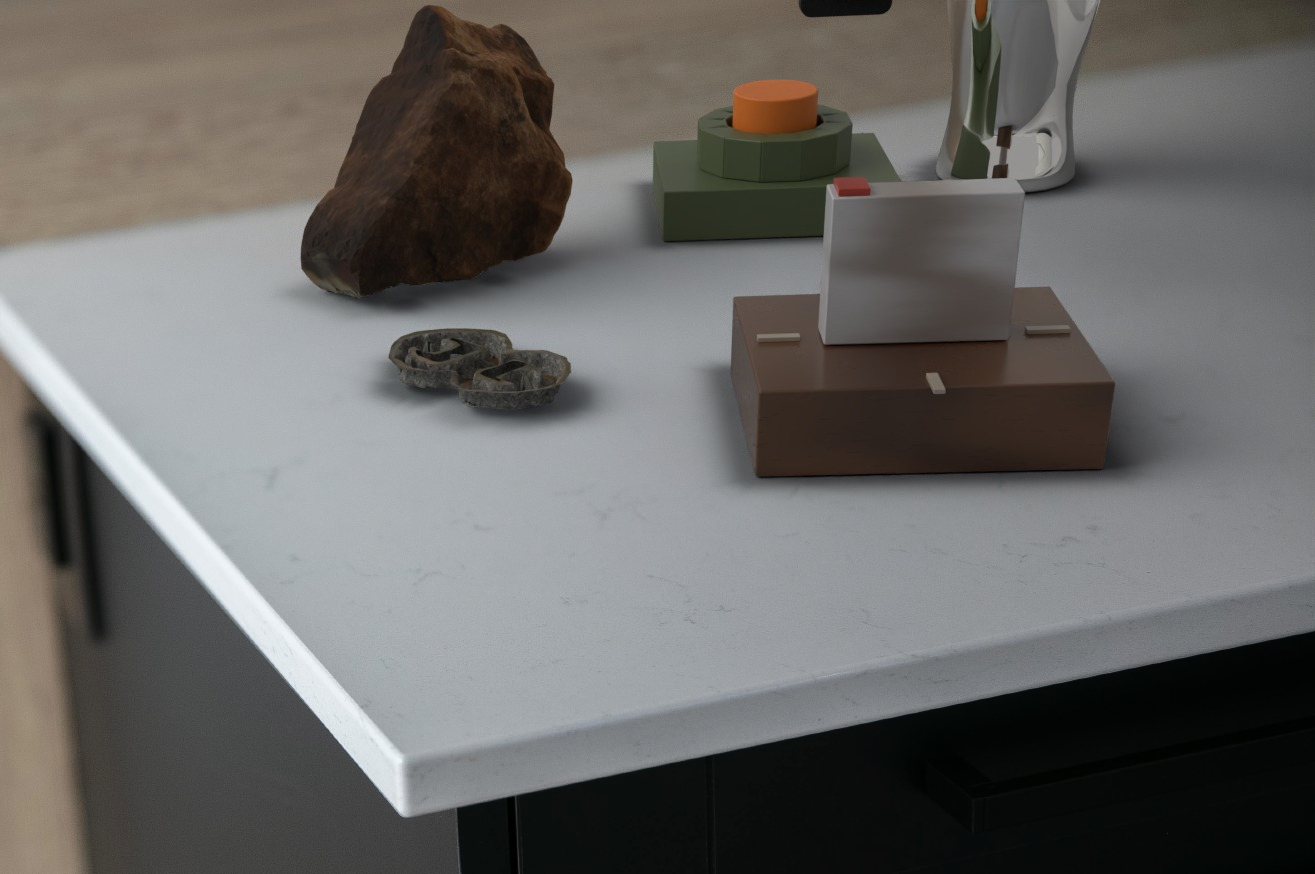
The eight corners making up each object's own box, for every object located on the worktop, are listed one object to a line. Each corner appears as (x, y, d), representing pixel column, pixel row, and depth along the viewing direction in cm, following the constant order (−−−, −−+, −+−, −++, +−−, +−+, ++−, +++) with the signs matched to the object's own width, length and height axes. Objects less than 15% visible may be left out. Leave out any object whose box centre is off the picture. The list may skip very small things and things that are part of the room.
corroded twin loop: (501, 433, 69) (501, 405, 68) (357, 374, 74) (356, 348, 74) (605, 392, 71) (605, 365, 71) (458, 338, 77) (457, 313, 76)
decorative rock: (517, 228, 89) (513, -21, 84) (599, 261, 84) (600, -1, 79) (284, 286, 84) (264, 25, 79) (358, 325, 79) (342, 51, 74)
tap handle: (999, 323, 67) (1016, 169, 64) (1009, 340, 65) (1026, 184, 63) (817, 328, 67) (826, 176, 65) (823, 345, 66) (832, 191, 63)
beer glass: (920, 194, 89) (950, -162, 82) (930, 151, 95) (960, -186, 88) (1084, 199, 87) (1130, -166, 80) (1084, 155, 93) (1128, -190, 86)
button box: (870, 179, 92) (877, 92, 90) (899, 233, 85) (906, 140, 83) (652, 188, 93) (653, 102, 91) (662, 241, 86) (664, 150, 84)
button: (810, 117, 88) (812, 77, 88) (821, 139, 85) (823, 98, 84) (728, 120, 89) (730, 80, 88) (736, 142, 86) (737, 101, 85)
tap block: (1037, 359, 72) (1047, 275, 70) (1109, 477, 63) (1122, 384, 61) (728, 368, 73) (731, 285, 71) (756, 485, 64) (761, 394, 63)
